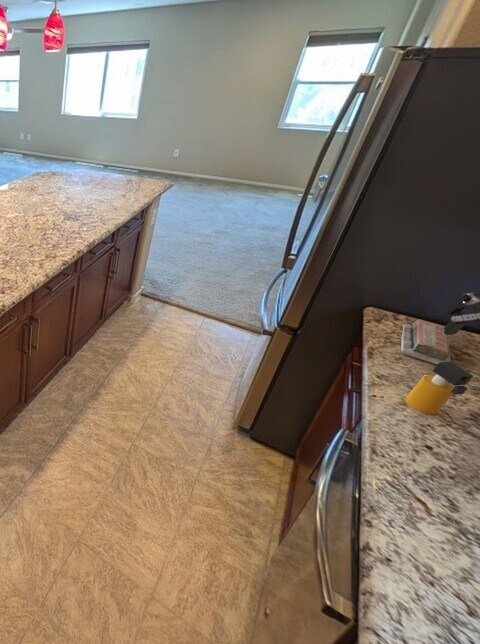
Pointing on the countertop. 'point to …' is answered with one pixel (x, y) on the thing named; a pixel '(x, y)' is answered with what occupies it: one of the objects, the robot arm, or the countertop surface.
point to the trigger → (458, 390)
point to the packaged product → (425, 342)
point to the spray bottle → (437, 387)
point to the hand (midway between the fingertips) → (469, 347)
